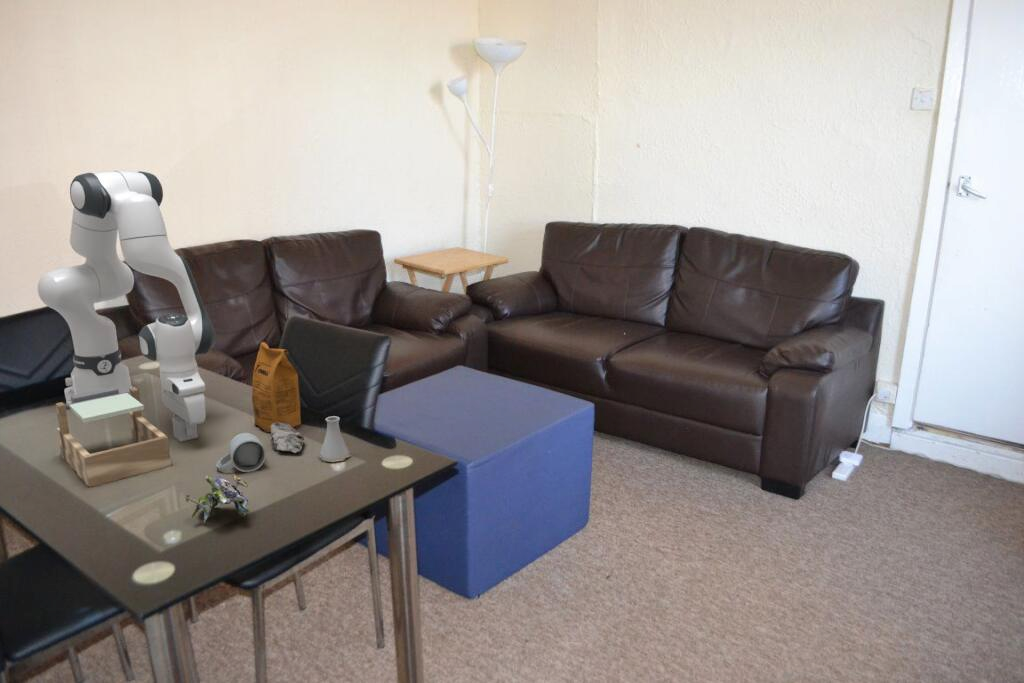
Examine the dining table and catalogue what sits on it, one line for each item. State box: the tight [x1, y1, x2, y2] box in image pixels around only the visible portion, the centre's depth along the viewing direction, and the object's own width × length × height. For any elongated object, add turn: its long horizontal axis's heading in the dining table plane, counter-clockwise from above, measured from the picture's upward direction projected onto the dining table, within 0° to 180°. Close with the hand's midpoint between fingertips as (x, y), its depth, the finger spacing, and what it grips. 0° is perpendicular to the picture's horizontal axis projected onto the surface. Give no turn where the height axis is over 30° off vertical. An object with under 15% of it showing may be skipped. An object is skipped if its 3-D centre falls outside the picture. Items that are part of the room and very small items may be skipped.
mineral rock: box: [270, 422, 305, 454], centre depth 203 cm, size 15×8×4 cm, turn 16°
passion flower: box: [184, 473, 249, 526], centre depth 165 cm, size 11×11×12 cm
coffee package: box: [251, 341, 302, 433], centre depth 213 cm, size 10×12×22 cm
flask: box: [318, 415, 350, 460], centre depth 195 cm, size 7×7×10 cm
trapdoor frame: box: [55, 386, 172, 488], centre depth 192 cm, size 23×18×14 cm
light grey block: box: [171, 416, 199, 443], centre depth 207 cm, size 4×4×5 cm
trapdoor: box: [65, 387, 145, 424], centre depth 193 cm, size 16×14×3 cm
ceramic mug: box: [215, 432, 267, 473], centre depth 190 cm, size 11×8×8 cm
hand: (185, 430), depth 207 cm, fingers closed on light grey block, 4 cm apart
